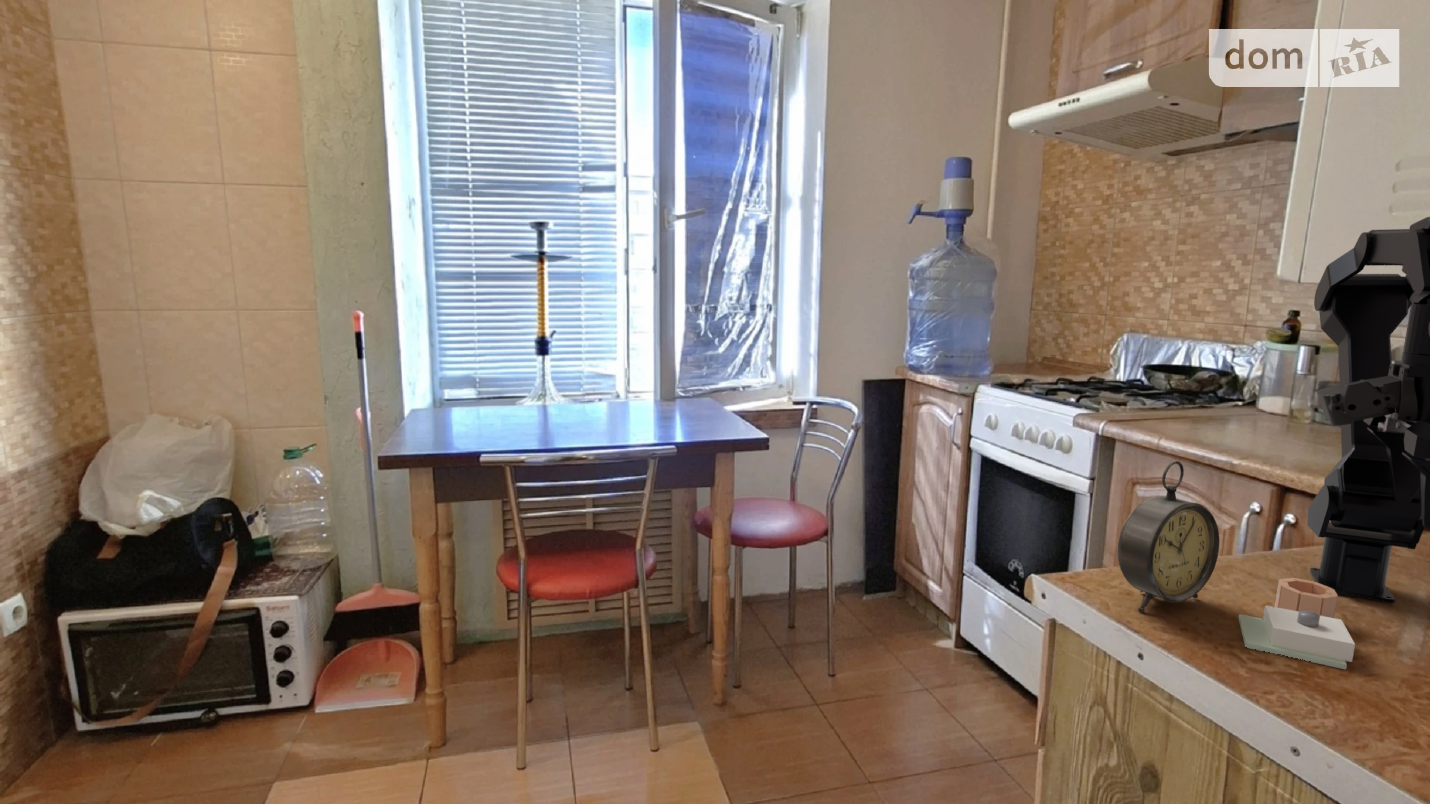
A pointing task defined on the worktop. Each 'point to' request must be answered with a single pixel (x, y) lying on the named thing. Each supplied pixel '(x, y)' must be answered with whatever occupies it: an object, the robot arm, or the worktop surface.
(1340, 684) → the worktop surface
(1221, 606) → the worktop surface
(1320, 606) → the bowl
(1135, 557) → the alarm clock
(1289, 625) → the cover
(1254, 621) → the mat
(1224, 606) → the worktop surface
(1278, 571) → the worktop surface
